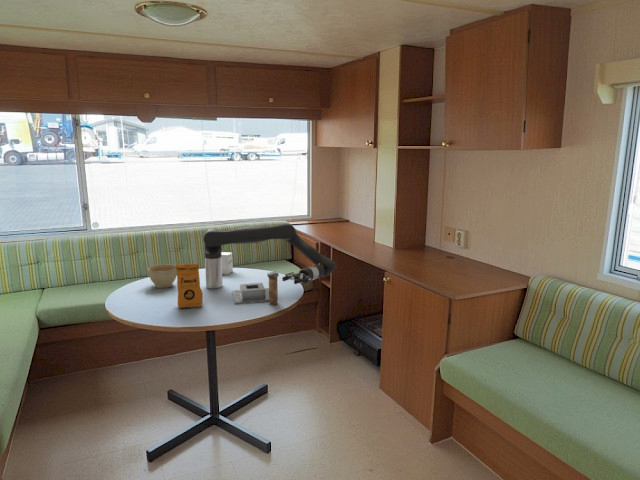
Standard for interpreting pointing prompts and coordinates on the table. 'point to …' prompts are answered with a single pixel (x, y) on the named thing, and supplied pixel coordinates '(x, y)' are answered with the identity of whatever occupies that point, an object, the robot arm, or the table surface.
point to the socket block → (251, 293)
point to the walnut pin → (273, 288)
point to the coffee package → (188, 286)
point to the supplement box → (227, 262)
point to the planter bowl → (163, 275)
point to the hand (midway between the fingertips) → (288, 280)
